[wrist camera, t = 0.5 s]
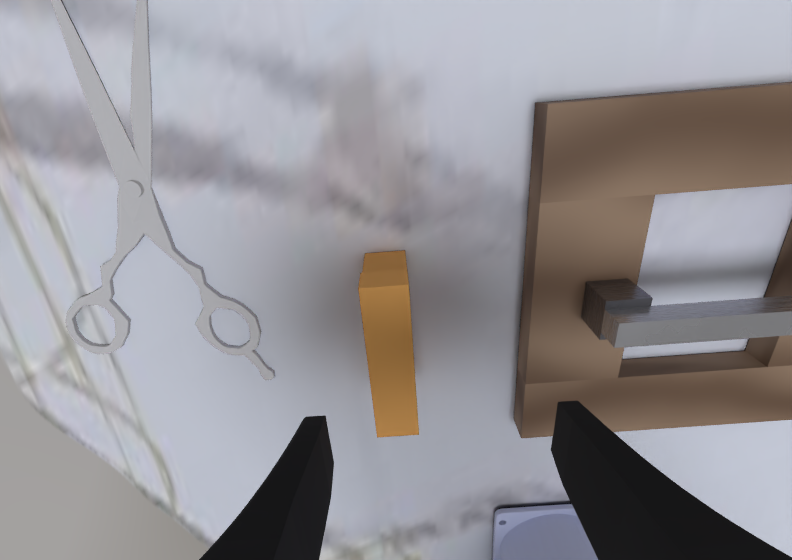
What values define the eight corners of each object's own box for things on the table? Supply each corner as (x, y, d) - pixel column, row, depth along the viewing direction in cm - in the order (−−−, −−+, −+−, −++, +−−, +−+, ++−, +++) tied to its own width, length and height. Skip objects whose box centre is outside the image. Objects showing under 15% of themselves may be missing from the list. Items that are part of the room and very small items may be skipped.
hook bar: (844, 298, 20) (921, 333, 17) (580, 317, 20) (613, 355, 17) (861, 261, 19) (945, 291, 16) (585, 281, 19) (620, 315, 16)
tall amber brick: (413, 374, 23) (418, 434, 19) (379, 376, 23) (377, 437, 19) (404, 244, 20) (408, 284, 16) (364, 247, 20) (358, 288, 16)
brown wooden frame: (808, 398, 25) (832, 416, 23) (513, 419, 25) (521, 438, 24) (963, 67, 17) (1012, 66, 16) (535, 102, 17) (547, 103, 16)
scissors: (83, 375, 23) (-81, -84, 14) (92, 367, 23) (-59, -77, 15) (274, 380, 23) (230, -61, 14) (277, 371, 24) (237, -55, 15)
